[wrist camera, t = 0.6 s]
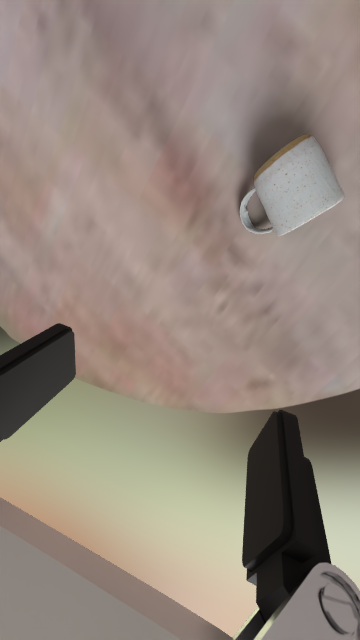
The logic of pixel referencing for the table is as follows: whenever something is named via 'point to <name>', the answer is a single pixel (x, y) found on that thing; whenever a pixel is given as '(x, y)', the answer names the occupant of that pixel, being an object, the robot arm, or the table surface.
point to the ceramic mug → (293, 187)
